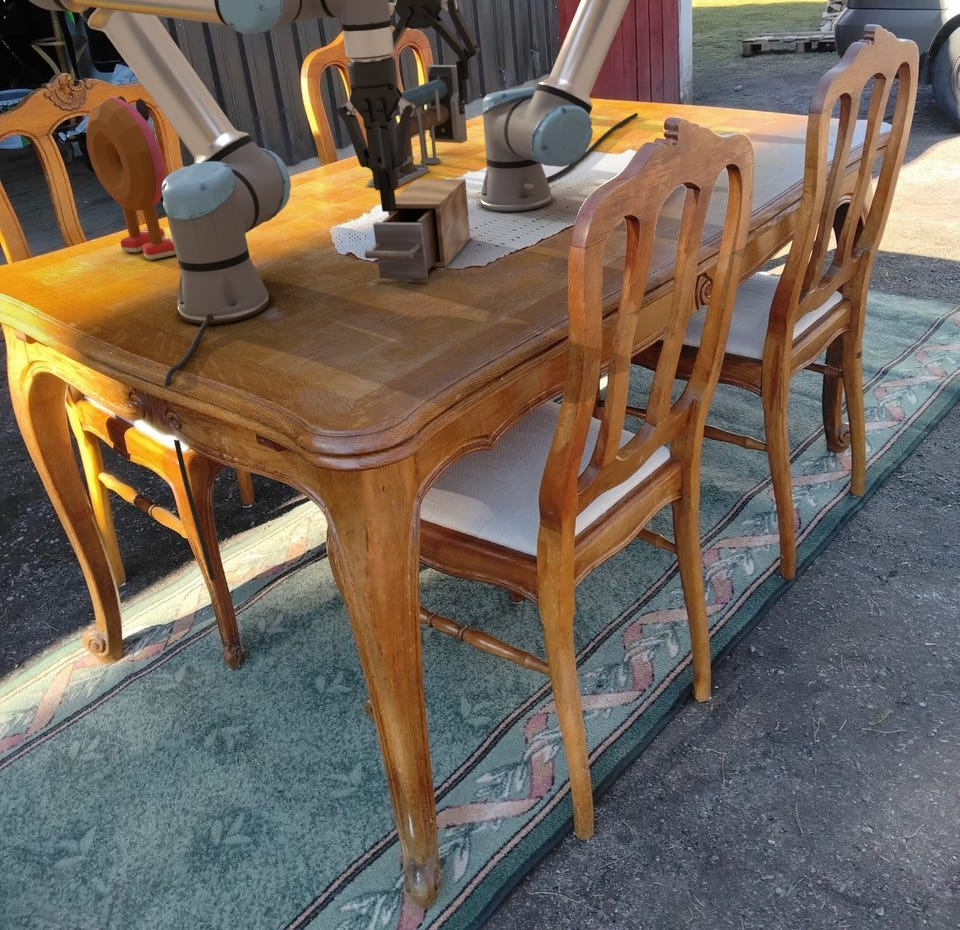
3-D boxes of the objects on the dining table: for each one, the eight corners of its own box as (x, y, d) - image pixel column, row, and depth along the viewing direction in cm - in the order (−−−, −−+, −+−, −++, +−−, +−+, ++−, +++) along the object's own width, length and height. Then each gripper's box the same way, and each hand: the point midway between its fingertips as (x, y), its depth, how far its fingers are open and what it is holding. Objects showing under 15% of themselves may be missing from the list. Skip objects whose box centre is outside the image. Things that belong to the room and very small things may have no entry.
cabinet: (445, 267, 176) (439, 203, 170) (394, 266, 179) (387, 203, 173) (470, 238, 190) (465, 179, 184) (423, 237, 192) (416, 179, 186)
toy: (206, 251, 195) (170, 95, 179) (161, 266, 188) (121, 105, 173) (151, 235, 208) (114, 87, 192) (108, 248, 202) (66, 97, 186)
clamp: (395, 188, 226) (384, 92, 216) (364, 185, 230) (352, 91, 219) (468, 152, 252) (461, 65, 241) (439, 150, 256) (431, 64, 245)
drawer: (415, 291, 164) (409, 235, 159) (368, 290, 166) (360, 234, 161) (451, 250, 181) (447, 199, 176) (408, 250, 183) (402, 198, 178)
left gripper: (418, 52, 151) (433, 203, 163) (341, 55, 154) (361, 202, 166) (402, 60, 145) (418, 216, 157) (322, 63, 148) (344, 215, 160)
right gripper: (491, -38, 164) (499, 94, 174) (355, -29, 170) (370, 97, 181) (479, -35, 157) (488, 102, 168) (338, -25, 164) (355, 105, 175)
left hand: (389, 209), depth 161 cm, fingers closed
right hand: (427, 100), depth 175 cm, fingers open, 13 cm apart
